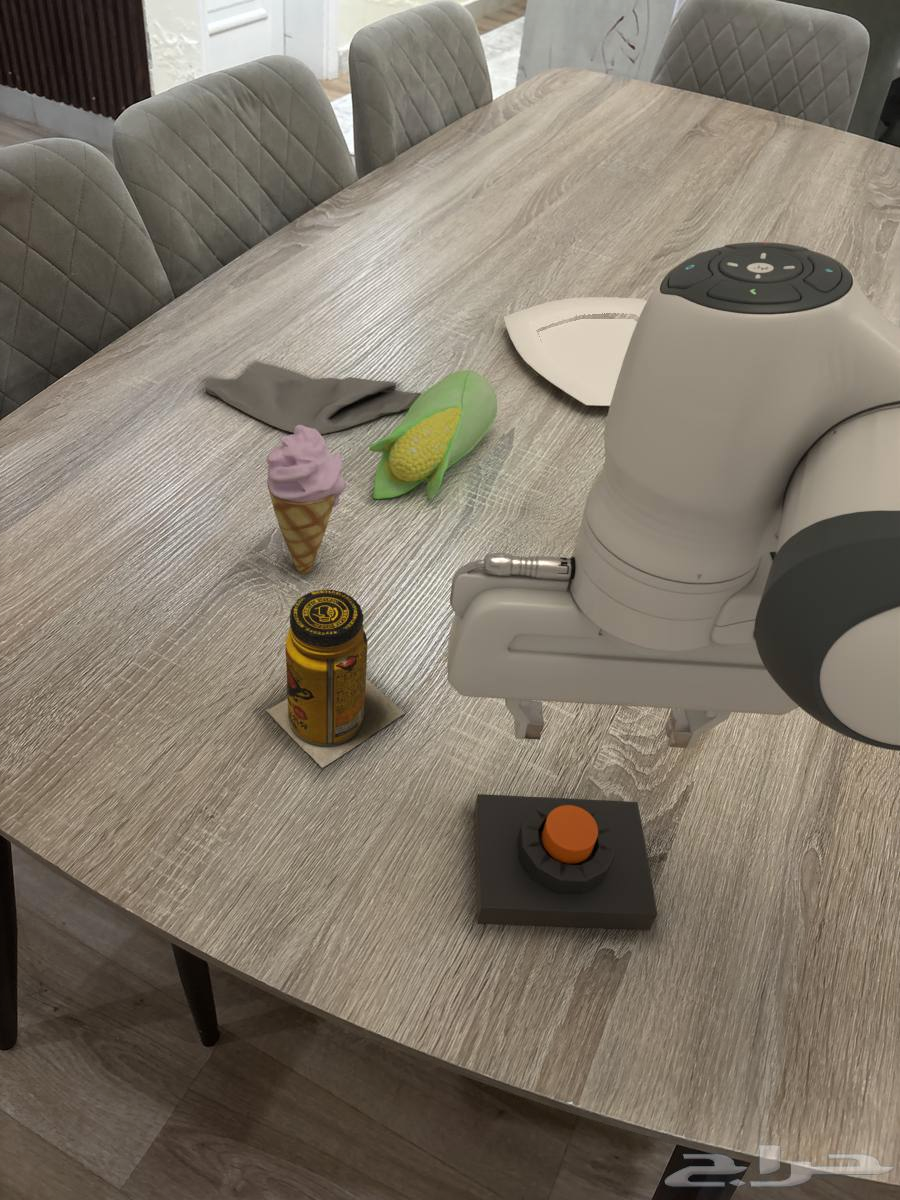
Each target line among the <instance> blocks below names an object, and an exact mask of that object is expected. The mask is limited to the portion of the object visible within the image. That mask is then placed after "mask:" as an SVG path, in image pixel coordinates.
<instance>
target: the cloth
mask: <svg viewBox="0 0 900 1200" xmlns="http://www.w3.org/2000/svg"><path fill="white" fill-rule="evenodd" d="M397 384H398V382H396V381H389V380H388V381H387V380H385V381H384V380H372V379H364V378H358V377H352V376H348V377H345V378H343V379H342V378H341V379H340V378H335V377H324V378H323V377H322V378H311V377H308V376H306V375H303V374H300V373H298V372H295V371H292V370H289V369H285V368H282V367H278V366H275V365H271V364H267V363H262V362H258V361H255V362H253V363H252V365H251V366H250V367H249V368H248V370H247V371H246V372H245V374H241V375H240V376H238V377H236V378H234V379H226V378H213V377H211V378H209V379H208V380H207V384H206V386H204V390H206V392H207V394H209V395H212V396H214V397H216V398H218V399H220V400H222V401H223V402H225V403H227V404H229V406H230V405H231V406H232V407H235V408H236V409H238V410H239V411H241V412H243V413H245V414H247V415H249V416H251V417H253V418H255V419H257V420H259V421H262V422H264V423H266V424H267V425H270V426H272V427H276V428H278V429H280V430H283V431H286V432H290V433H293V434H294V428H295V427H296V426H297V425H303V426H305V427H308V428H313V429H316V430H317V431H318V432H319V433H320V435H324V434H329V433H334V432H338V431H343V430H346V429H348V428H349V429H350V428H351V427H354V426H355V427H356V426H358V425H361V424H364V423H366V422H370V421H372V420H375V419H378V418H380V417H384V416H387V415H391V414H394V413H398V412H402V411H405V410H407V409H408V410H409V409H410V407H411V406H412V405H413V403H414V402H415V401H416V400H417V399H418V397H419V396H420V395H421V394H422V393H421V392H409V391H401V390H394V389H396V387H397Z"/></svg>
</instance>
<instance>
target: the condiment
mask: <svg viewBox="0 0 900 1200" xmlns="http://www.w3.org/2000/svg"><path fill="white" fill-rule="evenodd" d="M363 623H364V613H363V610H362V607H361V605H360V603H358V601H357V600H356V599H354V598H353V596H351V595H349V594H347V593H346V592H343V591H339V590H335V589H319V590H313V591H310V592H308V593H306V594H304V595H303V596H300V597H299V598H298V599H297V600H296V602H295V603H294V604H293V606H292V607H291V609H290V615H289V630H288V632H287V635H286V638H285V644H284V645H285V648H284V650H285V658H286V659H285V665H286V667H285V668H286V697H287V698H286V699H284V700H281V701H280V702H279V703H277V704H276V705H274V706H272V707H270V708H268V709H266V712H267V713H268V715H269V716H271V717H272V719H274V721H275V722H276V723H277V724H278V725H279V726H280V728H282V729H283V731H284V732H286V733H287V735H288V736H290V737H291V739H292V740H294V742H295V743H297V745H298V746H299V747H300V748H301V749H302V750H303V751H305V752H306V753H307V755H309V756H310V757H311V758H312V759H313V760H314V761H315V763H317V764H318V765H319V767H321V769H323V768H325V767H326V766H328V765H330V764H331V763H333V762H334V761H336V760H337V759H339V758H340V757H342V756H344V755H345V754H346V753H348V752H350V751H352V750H353V749H354V748H356V747H357V746H359V745H360V744H362V743H363V742H365V741H366V740H367V739H369V738H370V737H371V736H372V735H374V734H376V733H378V732H379V731H381V730H382V729H384V728H386V727H387V726H389V725H390V724H391V723H393V722H394V721H395V720H396V719H398V718H400V717H401V716H403V715H404V714H405V713H406V712H405V711H404V710H403V709H402V708H401V707H399V706H397V705H396V704H395V702H393V701H392V700H391V699H390V698H389V697H387V696H386V694H384V693H383V692H381V690H380V689H379V688H377V687H376V686H375V685H374V684H372V682H371V681H370V680H369V679H368V678H367V668H368V667H367V666H368V665H367V663H368V644H369V643H368V637H367V634H366V632H365V630H364V624H363Z"/></svg>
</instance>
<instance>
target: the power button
mask: <svg viewBox="0 0 900 1200" xmlns="http://www.w3.org/2000/svg"><path fill="white" fill-rule="evenodd" d="M597 836H598V827H597V824H596V822H595V820H594V818H593V817H592V816H591V815H590V814H589V813H588V812H587V811H586V810H584V809H582V808H580V807H577V806H573V805H563V806H559V807H557V808H555V809H554V810H552V811H551V812H550V813H549V815H548V817H547V819H546V823H545V826H544V829H543V833H542V843H543V846H544V848H545V850H546V851H547V852H548V854H549V855H550V856H551V857H553V858H554V859H556V860H558V861H560V862H562V863H567V864H576V863H580V862H582V861H584V860H586V859H587V858H588V857H589V856H590V854H591V852H592V850H593V847H594V845H595V842H596V839H597Z"/></svg>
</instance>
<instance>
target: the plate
mask: <svg viewBox="0 0 900 1200" xmlns="http://www.w3.org/2000/svg"><path fill="white" fill-rule="evenodd" d="M647 301H648V300H645V299H643V298H638V297H637V298H635V297H634V298H633V297H613V296H612V297H610V296H608V297H607V296H593V297H591V296H589V297H587V296H585V297H584V296H583V297H573V298H572V297H571V298H570V297H569V298H563V299H557V300H556V299H555V300H552V301H551V300H550V301H547V302H544V303H539V304H537V305H533V306H530V307H527V308H524V309H522V310H518V311H516V312H513V313H510V314H507V315H505V316H503V321H504V324H505V328H506V330H507V333H508V335H509V338H510V341H511V343H512V344H513V346H514V348H515V350H516V352H517V353H518V354H519V356H520V357H521V359H522V360H523V361H524V363H525V364H526V365H527V366H528V367H530V368H531V370H533V371H534V372H535V373H537V375H539V376H540V377H541V378H543V379H544V380H546V381H547V382H548V383H550V384H551V385H552V386H554V387H555V388H557V389H558V390H560V391H561V392H563V393H564V394H565V395H567V396H569V397H570V398H572V399H574V400H575V401H576V402H579V403H580V404H581V405H583V406H585V407H592V408H593V407H594V408H595V407H599V408H610V404H611V400H612V397H613V393H614V390H615V386H616V383H617V379H618V376H619V373H620V369H621V366H622V363H623V360H624V357H625V354H626V351H627V348H628V345H629V342H630V339H631V337H632V334H633V331H634V329H635V326H636V324H637V321H635V320H634V319H580V320H576V321H572V322H568V323H564V324H561V325H558V326H555V327H551V328H548V329H546V330H543V331H540V332H538V333H539V335H538V333H537V331H536V330H538V329H539V328H541V327H545V326H548V325H550V324H552V323H557V322H559V321H562V320H563V319H564V320H566V319H569V318H573V317H575V316H576V315H577V316H579V315H584V314H585V315H588V314H590V315H592V314H602V313H603V314H604V313H605V314H606V313H612V314H613V313H616V314H617V313H620V314H621V313H624V314H626V313H627V314H630V313H631V314H635V315H637V316H638V317H640V315H641V313H642V310H643V308H644V306H645V304H646V303H647ZM539 336H540V337H539ZM540 339H541V340H540ZM541 341H542V342H541Z"/></svg>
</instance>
